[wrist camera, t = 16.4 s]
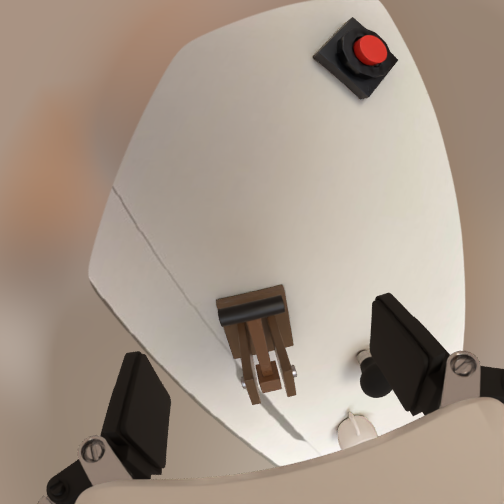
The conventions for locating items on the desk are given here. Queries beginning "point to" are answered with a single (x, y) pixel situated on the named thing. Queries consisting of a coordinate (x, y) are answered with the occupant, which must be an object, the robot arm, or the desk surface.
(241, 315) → the lever
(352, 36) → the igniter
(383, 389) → the light bulb
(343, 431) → the mug
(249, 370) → the bracket
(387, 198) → the desk surface
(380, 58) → the button
